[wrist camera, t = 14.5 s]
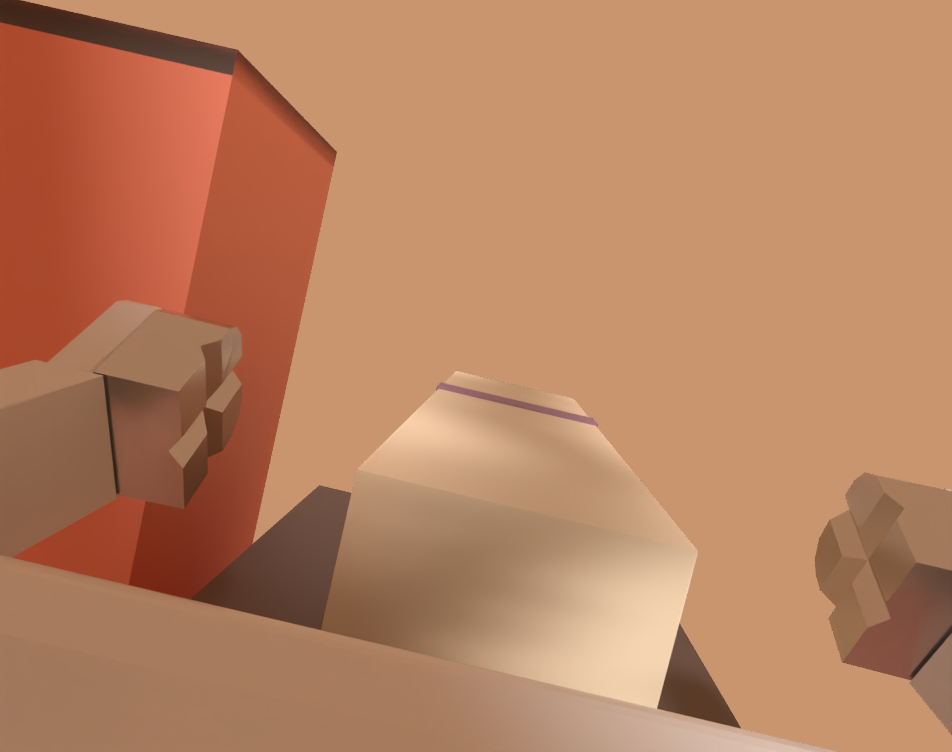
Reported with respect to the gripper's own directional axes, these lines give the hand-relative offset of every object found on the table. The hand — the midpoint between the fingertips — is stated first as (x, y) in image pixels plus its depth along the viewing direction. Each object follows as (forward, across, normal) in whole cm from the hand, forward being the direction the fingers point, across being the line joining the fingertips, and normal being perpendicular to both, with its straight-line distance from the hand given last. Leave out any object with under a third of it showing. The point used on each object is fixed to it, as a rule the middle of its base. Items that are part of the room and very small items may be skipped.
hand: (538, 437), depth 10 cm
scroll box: (+4, 0, +8) cm, 9 cm away
